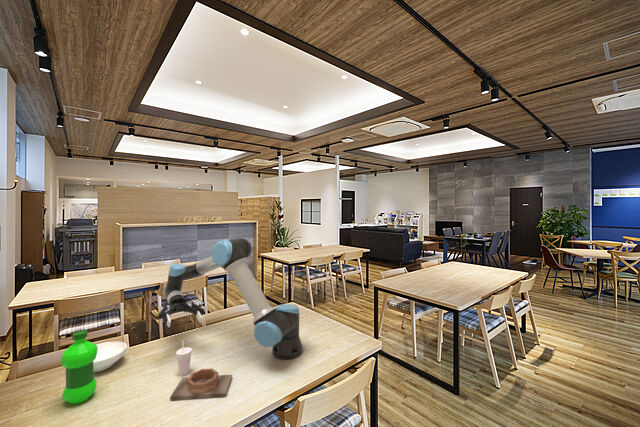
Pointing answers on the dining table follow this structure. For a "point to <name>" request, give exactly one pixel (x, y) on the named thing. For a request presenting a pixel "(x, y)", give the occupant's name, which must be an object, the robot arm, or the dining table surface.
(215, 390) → the brown cup holder
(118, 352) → the bowl
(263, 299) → the robot arm
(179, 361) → the smoothie
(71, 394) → the plastic bottle
